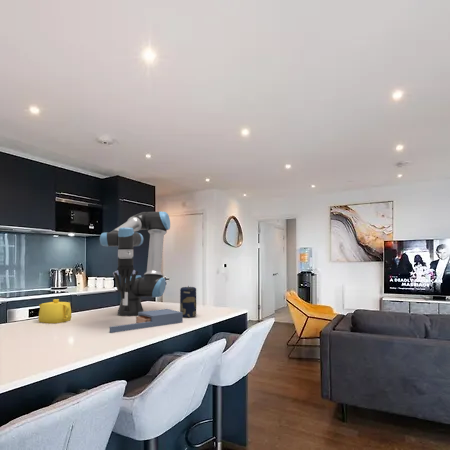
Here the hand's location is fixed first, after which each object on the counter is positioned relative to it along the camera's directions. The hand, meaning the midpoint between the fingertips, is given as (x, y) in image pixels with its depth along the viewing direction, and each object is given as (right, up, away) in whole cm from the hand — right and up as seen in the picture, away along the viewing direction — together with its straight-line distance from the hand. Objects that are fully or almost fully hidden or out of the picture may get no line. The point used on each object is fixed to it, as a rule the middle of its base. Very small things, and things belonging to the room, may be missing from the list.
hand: (125, 305), depth 174 cm
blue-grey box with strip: (+7, -11, +5) cm, 14 cm away
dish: (+13, -12, +10) cm, 20 cm away
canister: (+29, -14, +29) cm, 43 cm away
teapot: (-44, -13, +15) cm, 48 cm away
